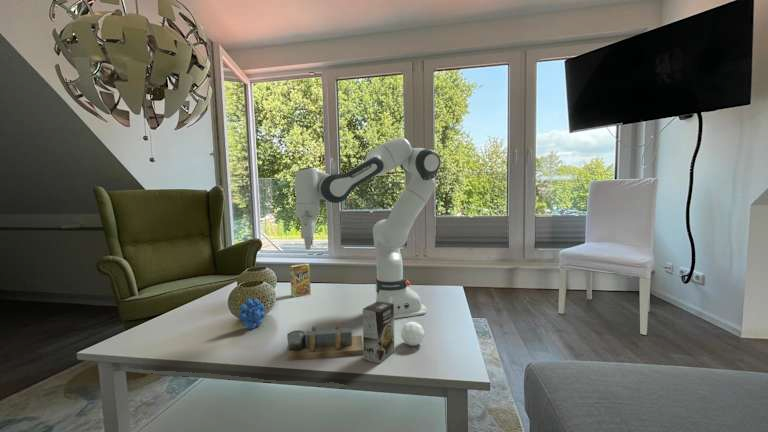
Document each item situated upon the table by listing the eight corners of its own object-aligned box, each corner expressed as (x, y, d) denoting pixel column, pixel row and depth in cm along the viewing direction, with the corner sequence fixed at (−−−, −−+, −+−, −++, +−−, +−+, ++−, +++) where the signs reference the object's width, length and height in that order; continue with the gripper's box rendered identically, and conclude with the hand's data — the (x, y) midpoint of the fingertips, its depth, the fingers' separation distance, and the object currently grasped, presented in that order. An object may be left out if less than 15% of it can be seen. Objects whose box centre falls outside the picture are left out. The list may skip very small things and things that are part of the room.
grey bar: (351, 339, 121) (351, 326, 121) (352, 346, 116) (351, 333, 115) (289, 344, 119) (288, 330, 118) (286, 351, 113) (286, 338, 113)
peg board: (361, 339, 124) (360, 321, 124) (363, 354, 113) (362, 334, 113) (291, 344, 121) (290, 326, 121) (286, 360, 110) (285, 340, 110)
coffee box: (380, 364, 107) (379, 312, 106) (362, 359, 110) (361, 308, 109) (395, 351, 115) (394, 303, 113) (378, 347, 118) (377, 300, 117)
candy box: (294, 297, 174) (292, 266, 172) (290, 295, 177) (289, 265, 176) (310, 294, 179) (309, 264, 177) (307, 292, 182) (306, 262, 181)
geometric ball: (419, 353, 119) (429, 339, 115) (397, 347, 118) (406, 332, 113) (418, 334, 125) (427, 320, 121) (397, 328, 124) (406, 314, 120)
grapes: (247, 336, 129) (245, 304, 128) (235, 332, 133) (233, 301, 132) (272, 325, 139) (271, 295, 138) (261, 322, 142) (259, 293, 141)
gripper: (314, 212, 123) (315, 251, 124) (318, 208, 143) (319, 242, 144) (295, 212, 122) (297, 252, 123) (302, 209, 142) (303, 243, 143)
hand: (309, 247), depth 134 cm, fingers open, 8 cm apart
